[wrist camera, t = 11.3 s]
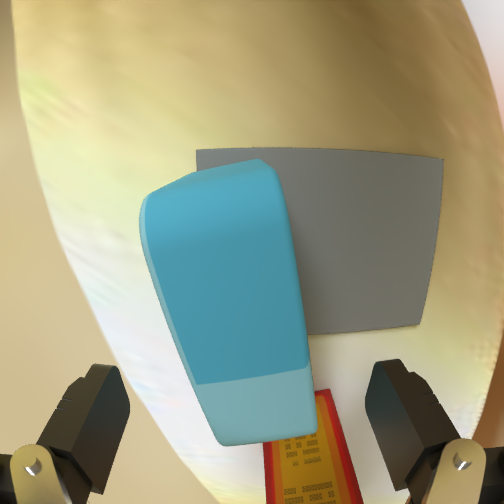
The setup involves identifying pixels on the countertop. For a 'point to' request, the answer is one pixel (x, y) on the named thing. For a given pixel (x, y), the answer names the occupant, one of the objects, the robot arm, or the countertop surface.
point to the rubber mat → (355, 231)
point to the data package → (233, 299)
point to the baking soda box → (312, 463)
